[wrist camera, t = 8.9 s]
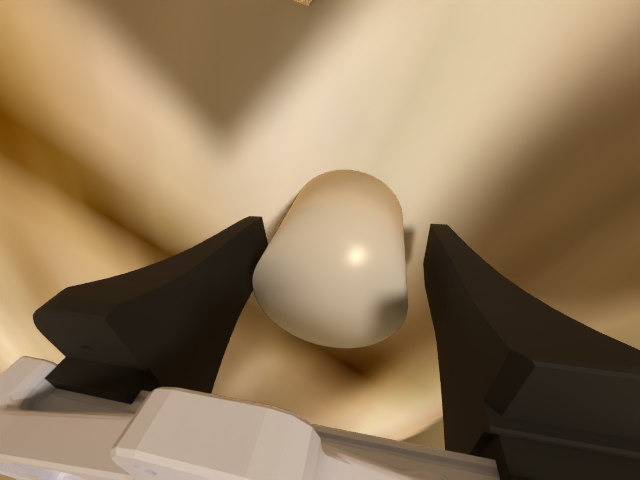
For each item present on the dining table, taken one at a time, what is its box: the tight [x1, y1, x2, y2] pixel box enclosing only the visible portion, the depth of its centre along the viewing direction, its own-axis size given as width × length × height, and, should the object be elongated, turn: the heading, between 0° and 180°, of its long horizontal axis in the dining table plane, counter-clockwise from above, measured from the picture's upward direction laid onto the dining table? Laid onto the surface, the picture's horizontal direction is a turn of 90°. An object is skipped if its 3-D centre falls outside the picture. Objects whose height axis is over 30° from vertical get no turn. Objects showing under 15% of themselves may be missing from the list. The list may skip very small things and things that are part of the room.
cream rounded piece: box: [253, 170, 408, 348], centre depth 11 cm, size 5×5×5 cm
